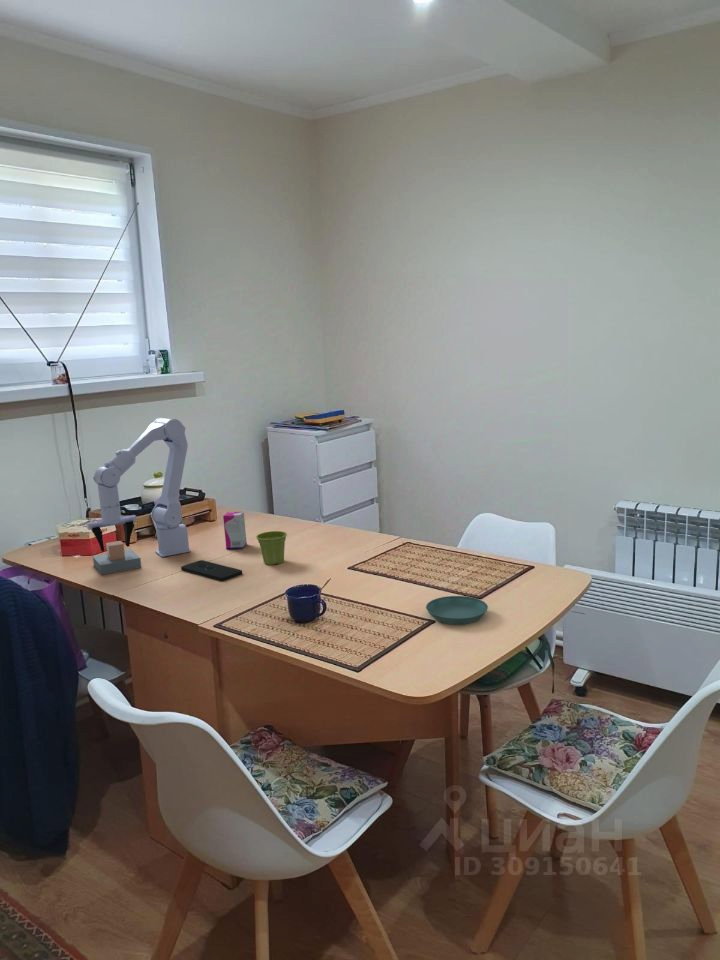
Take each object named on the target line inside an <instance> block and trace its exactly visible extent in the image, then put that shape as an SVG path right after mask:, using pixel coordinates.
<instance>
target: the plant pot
mask: <svg viewBox="0 0 720 960" xmlns="http://www.w3.org/2000/svg"><path fill="white" fill-rule="evenodd" d="M287 536H288V533H287V532H286V531H283V530H282V531H280V530H272V531H264V532H262V533H261V532H260V533H258V534H256V536H255V537H256V540H257V541H258V543H259V547H260V551H261V555H262V560H263V564H265V565H266V566H267V565H271V566H274V565H275V564H282V563H284V561H285V545H286V543H285V542H286V538H287Z"/></svg>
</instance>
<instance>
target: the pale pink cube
mask: <svg viewBox="0 0 720 960" xmlns="http://www.w3.org/2000/svg"><path fill="white" fill-rule="evenodd" d="M105 546H106V554H107V556H108V558H109V560H115V559H121V558H125V553H124V550H125V546H124V543H123V541H122V540H116V541H111V542H106V543H105Z"/></svg>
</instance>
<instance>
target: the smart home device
mask: <svg viewBox="0 0 720 960" xmlns="http://www.w3.org/2000/svg"><path fill="white" fill-rule="evenodd" d="M180 569H181V571H182V572H185V573H189V574H193V575H196V576H200V577H204V578H207V579H211V580H213V581H219V582H225V581H228V580H231V579H234V578H236V577H239V576H242V575H243V570H242V569H239V568H238V569H237V568H234V567H230V566H226V565H223V564H220V563H219V564H218V563H214V562H212V561H208V560H202V559H200V560H196V561H194V562H190V563H187V564H185V565H181V566H180Z"/></svg>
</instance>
